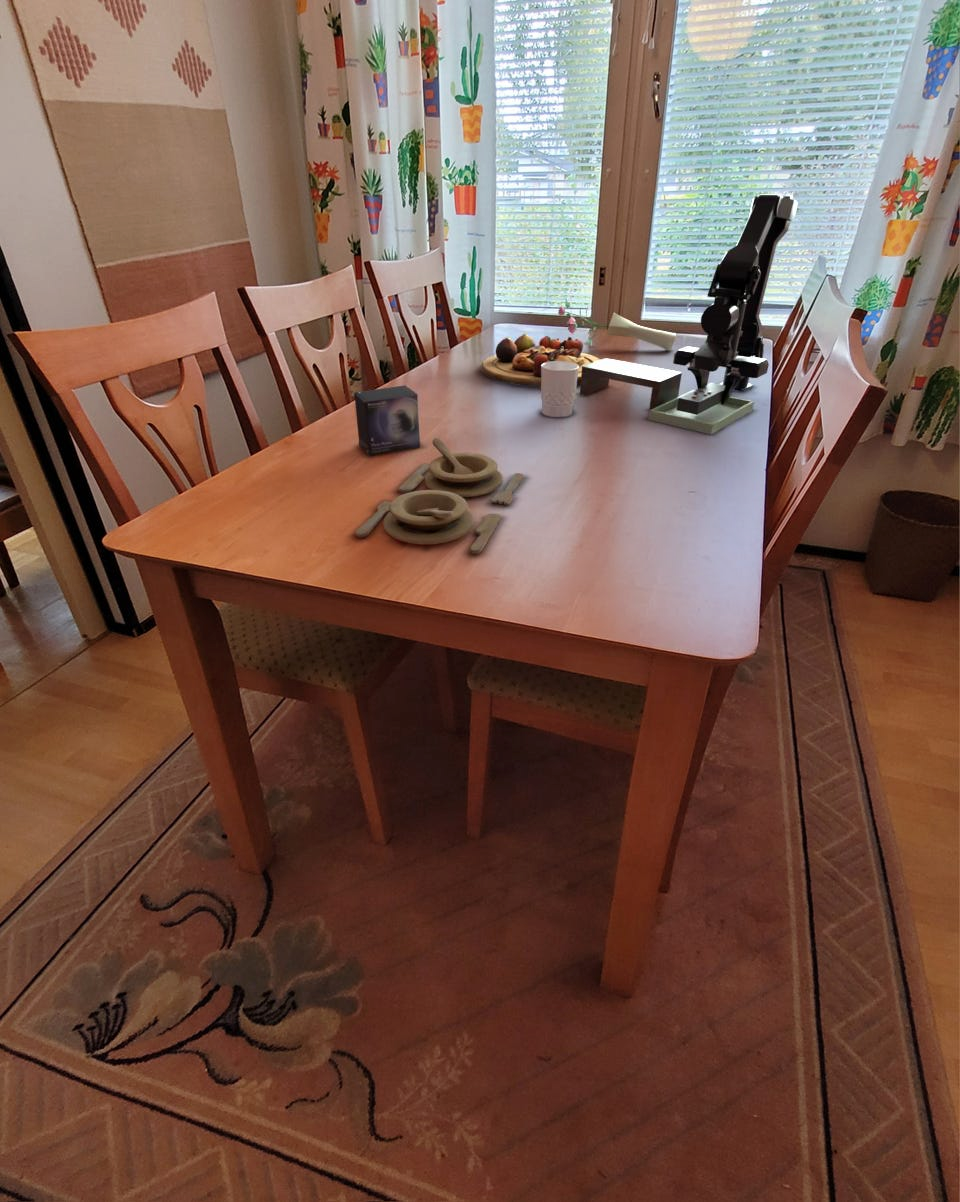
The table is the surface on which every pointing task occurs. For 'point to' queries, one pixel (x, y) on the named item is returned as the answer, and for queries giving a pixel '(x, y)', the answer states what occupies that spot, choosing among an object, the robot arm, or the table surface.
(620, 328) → the flower vase
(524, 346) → the wooden plate
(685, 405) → the dark gray box
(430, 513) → the tableware set
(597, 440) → the table surface
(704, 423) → the tray
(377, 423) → the small box
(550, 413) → the white cup
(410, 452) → the table surface
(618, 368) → the shelf
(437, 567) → the table surface
